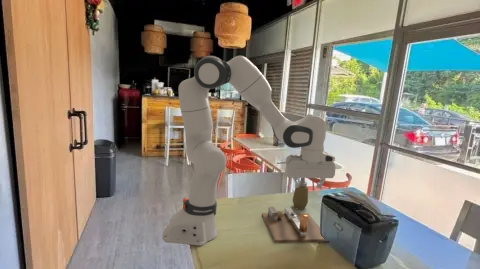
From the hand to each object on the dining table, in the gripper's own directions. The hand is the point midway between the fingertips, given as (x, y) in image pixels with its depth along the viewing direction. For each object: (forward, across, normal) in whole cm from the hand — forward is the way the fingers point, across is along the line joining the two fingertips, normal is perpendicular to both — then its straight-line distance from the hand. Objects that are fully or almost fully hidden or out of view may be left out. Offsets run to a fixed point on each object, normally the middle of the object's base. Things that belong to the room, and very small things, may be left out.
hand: (308, 187), depth 109 cm
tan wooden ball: (+22, -7, +15) cm, 27 cm away
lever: (+21, -1, +9) cm, 23 cm away
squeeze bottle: (+24, +9, +29) cm, 38 cm away
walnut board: (+23, -2, +8) cm, 24 cm away
